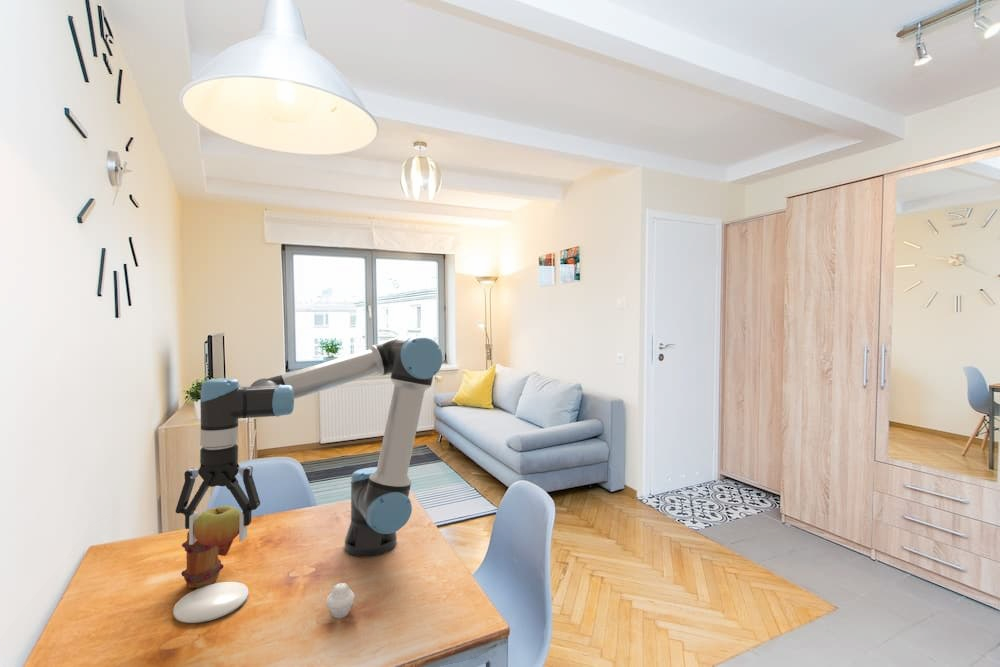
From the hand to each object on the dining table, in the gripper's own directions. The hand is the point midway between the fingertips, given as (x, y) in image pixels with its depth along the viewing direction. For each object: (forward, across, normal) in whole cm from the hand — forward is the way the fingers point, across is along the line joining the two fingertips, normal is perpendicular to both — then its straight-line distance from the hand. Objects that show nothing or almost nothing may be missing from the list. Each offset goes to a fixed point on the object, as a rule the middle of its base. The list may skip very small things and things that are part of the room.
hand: (218, 540), depth 107 cm
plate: (+16, +2, -2) cm, 16 cm away
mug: (+16, +8, -14) cm, 23 cm away
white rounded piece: (+16, -29, +7) cm, 33 cm away
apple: (0, 0, 0) cm, 0 cm away
